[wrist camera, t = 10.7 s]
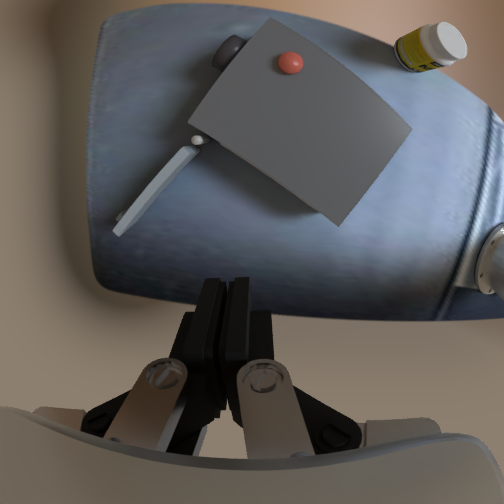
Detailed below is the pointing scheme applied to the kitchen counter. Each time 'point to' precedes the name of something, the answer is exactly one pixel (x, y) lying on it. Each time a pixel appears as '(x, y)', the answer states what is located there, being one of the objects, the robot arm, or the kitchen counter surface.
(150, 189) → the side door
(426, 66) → the supplement bottle
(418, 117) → the kitchen counter surface
